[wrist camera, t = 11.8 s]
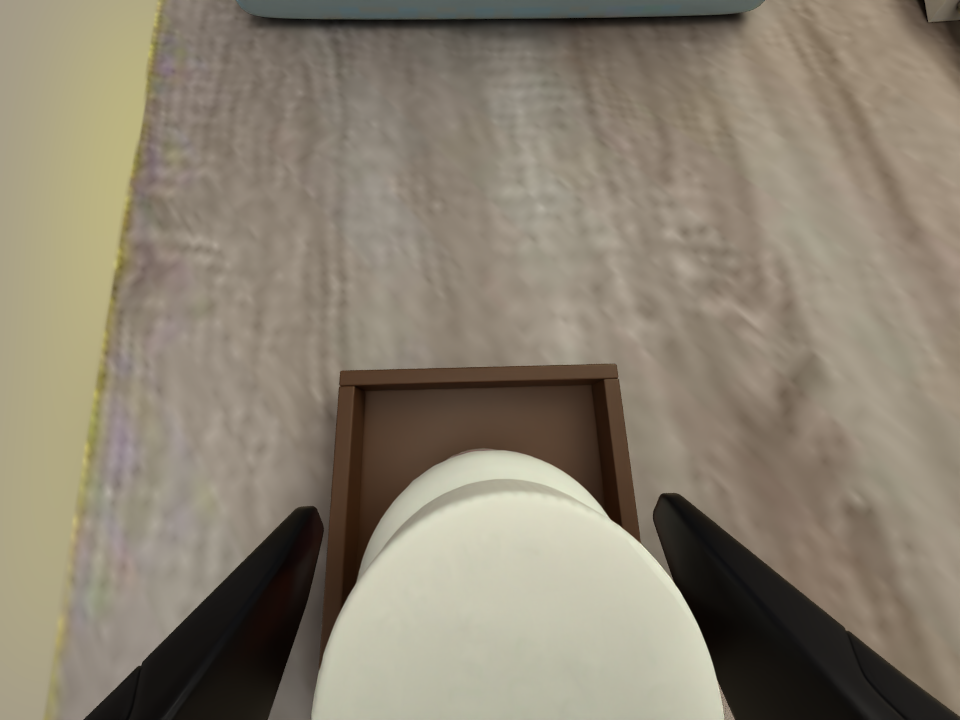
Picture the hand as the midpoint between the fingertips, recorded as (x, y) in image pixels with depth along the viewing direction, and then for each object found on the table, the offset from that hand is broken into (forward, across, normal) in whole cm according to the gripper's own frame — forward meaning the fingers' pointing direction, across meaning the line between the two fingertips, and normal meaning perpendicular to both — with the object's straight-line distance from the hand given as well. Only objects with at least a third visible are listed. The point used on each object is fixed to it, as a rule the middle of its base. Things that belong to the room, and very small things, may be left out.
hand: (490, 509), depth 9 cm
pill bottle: (+4, 0, +6) cm, 7 cm away
